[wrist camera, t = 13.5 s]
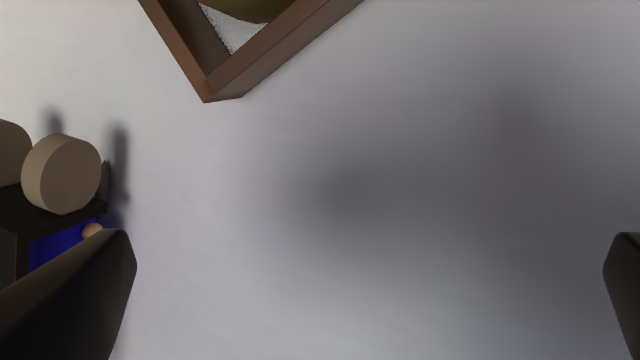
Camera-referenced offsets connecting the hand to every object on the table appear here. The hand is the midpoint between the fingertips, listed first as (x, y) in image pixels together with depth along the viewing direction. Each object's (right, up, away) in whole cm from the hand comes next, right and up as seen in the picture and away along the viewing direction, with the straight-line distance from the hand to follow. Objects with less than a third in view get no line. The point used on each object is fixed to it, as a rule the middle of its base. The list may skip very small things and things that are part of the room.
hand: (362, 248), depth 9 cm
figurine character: (-15, -2, +19) cm, 24 cm away
